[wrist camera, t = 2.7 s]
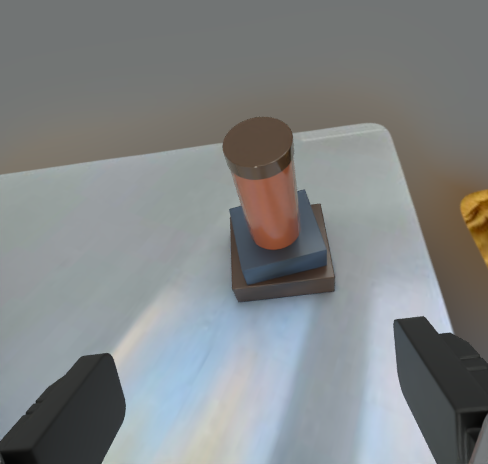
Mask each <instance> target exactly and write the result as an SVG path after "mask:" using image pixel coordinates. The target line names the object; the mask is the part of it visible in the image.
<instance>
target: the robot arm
mask: <svg viewBox="0 0 488 464" xmlns="http://www.w3.org/2000/svg"><path fill="white" fill-rule="evenodd" d="M393 328H394V339H395V350H396V361H397V372H398V378H399V382H400V386H401V390H402V393H403V395H404V397H405V399H406V401H407V404H408V406H409V408H410V410H411V412H412V414H413V416H414V418H415V420H416V422H417V424H418V426H419V428H420V430H421V432H422V434H423V436H424V439H425V441H426V443H427V445H428V447H429V449H430V451H431V453H432V455H433V457H434V459H435V461H436V463H437V464H488V363H486V361H485V360H484V359H483V358H481V357H480V355H479V354H478V353H477V351H476V350H475V349H474V348H473V347H472V346H471V345H470V344H469V343H468V342H467V341H464V340H463V339H461V338H459V337H457V336H455V335H453V334H452V333H442V334H438V332H437V331H436V330H435V329H434V327H433V326H432V325H431V324H430V323H429V321H428V320H427V319H426V318H425V317H424V316H421V317H412V318H404V319H396V320H394V324H393ZM125 410H126V404H125V398H124V394H123V390H122V387H121V383H120V380H119V376H118V373H117V369H116V366H115V362H114V359H113V357H112V356H111V355H110V354H109V353H103V354H95V355H86V356H82V357H80V358H79V359H78V361H77V362H76V363H75V364H74V365H73V366H72V368H71V369H70V370H69V371H68V372H67V373H66V375H64V376H63V377H62V378H60V379H59V380H57V381H56V382H55V383H53V384H52V385H51V386H49V387H48V388H47V389H46V390H45V391H44V392H43V393H42V395H41V396H40V397H39V398H38V399H37V400H36V404H33V405H32V406H31V407H30V408H29V409H28V410H27V412H26V415H23V416H22V417H21V418H20V419H19V421H18V422H17V423H16V424H15V425H14V426H13V427H12V429H11V430H10V431H9V432H8V433H7V434H6V435H5V436H4V438H3V439H2V440H1V441H0V464H101V463H102V461H103V459H104V457H105V455H106V454H107V452H108V450H109V448H110V446H111V444H112V442H113V440H114V438H115V436H116V434H117V432H118V431H119V429H120V427H121V425H122V423H123V420H124V417H125Z"/></svg>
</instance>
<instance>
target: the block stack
mask: <svg viewBox="0 0 488 464" xmlns="http://www.w3.org/2000/svg"><path fill="white" fill-rule="evenodd" d="M297 193H298V203H299V212H300V221H301V231H300V234H299V236H298V238H297V239H296V240H295V241H294V242H293V243H292V244H291V245H289V246H287V247H285V248H282V249H278V250H269V249H265V248H262V247H260V246H258V245H257V244H256V243H255V242H254V241H253V240H252V238H251V236H250V233H249V229H248V226H247V223H246V220H245V216H244V213H243V210H242V207H241V206H239V207H235V208H231V209H229V211H230V216H231V217H230V229H231V266H232V290H233V292H234V294H235V296H236V298H237V300H238V302H245V301H254V300H262V299H271V298H280V297H288V296H297V295H306V294H314V293H323V292H332V291H334V290H335V275H334V270H333V265H332V260H331V255H330V250H329V244H328V239H327V234H326V229H325V224H324V219H323V214H322V209H321V204H313V205H310V202H309V199H308V197H307V194H306V191H305V189H304V190H300V191H297Z"/></svg>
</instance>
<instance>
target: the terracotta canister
mask: <svg viewBox="0 0 488 464" xmlns="http://www.w3.org/2000/svg"><path fill="white" fill-rule="evenodd" d="M223 152H224V156H225V159H226V162H227V165H228V167H229V169H230V171H231V174H232V177H233V180H234V184H235V187H236V190H237V193H238V197H239V200H240V203H241V207H242V210H243V213H244V216H245V220H246V223H247V226H248V229H249V233H250V236H251V238H252V240H253V241H254V242H255V243H256V244H257V245H258V246H260V247H262V248H265V249H269V250H278V249H282V248H285V247H287V246H289V245H291V244H292V243H293V242H294V241H295V240H296V239H297V238H298V236H299V234H300V231H301V221H300V212H299V203H298V193H297V184H296V175H295V165H294V143H293V135H292V131H291V129H290V128H289V127H288V126H287V124H285V123H284V122H283V121H281V120H278V119H275V118H272V117H255V118H251V119H247V120H245V121H242V122H240V123H239V124H237V125H235V126H234V127H233V128H232V129H231V130H230V131H229V132H228V133H227V135H226V136H225V138H224V141H223Z"/></svg>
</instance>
